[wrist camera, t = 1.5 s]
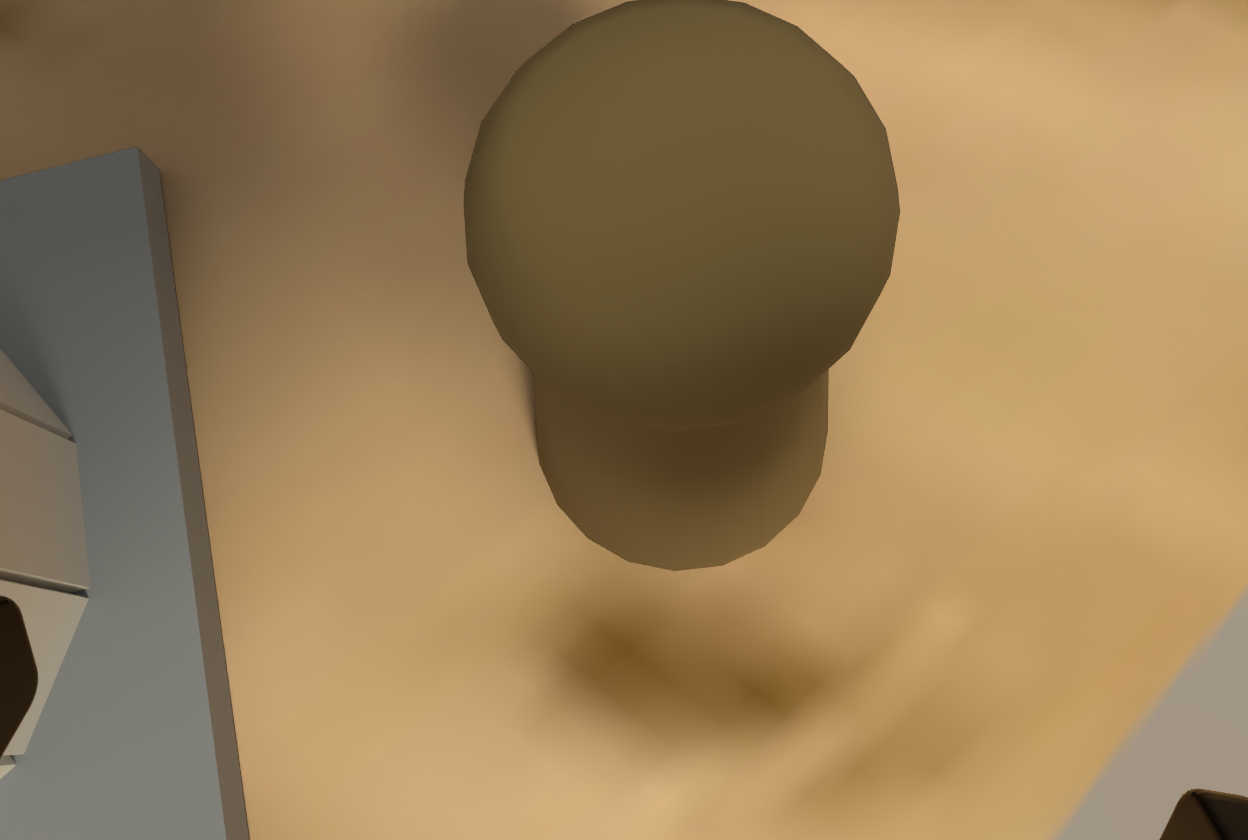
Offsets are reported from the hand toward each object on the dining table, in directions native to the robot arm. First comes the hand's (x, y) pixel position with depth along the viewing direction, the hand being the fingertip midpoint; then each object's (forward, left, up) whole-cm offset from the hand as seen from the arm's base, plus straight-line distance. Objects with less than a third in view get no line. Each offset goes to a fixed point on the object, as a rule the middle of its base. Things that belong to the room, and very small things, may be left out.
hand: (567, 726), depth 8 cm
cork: (+5, -2, -13) cm, 14 cm away
